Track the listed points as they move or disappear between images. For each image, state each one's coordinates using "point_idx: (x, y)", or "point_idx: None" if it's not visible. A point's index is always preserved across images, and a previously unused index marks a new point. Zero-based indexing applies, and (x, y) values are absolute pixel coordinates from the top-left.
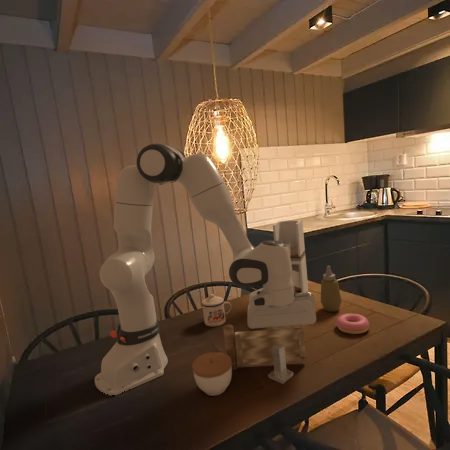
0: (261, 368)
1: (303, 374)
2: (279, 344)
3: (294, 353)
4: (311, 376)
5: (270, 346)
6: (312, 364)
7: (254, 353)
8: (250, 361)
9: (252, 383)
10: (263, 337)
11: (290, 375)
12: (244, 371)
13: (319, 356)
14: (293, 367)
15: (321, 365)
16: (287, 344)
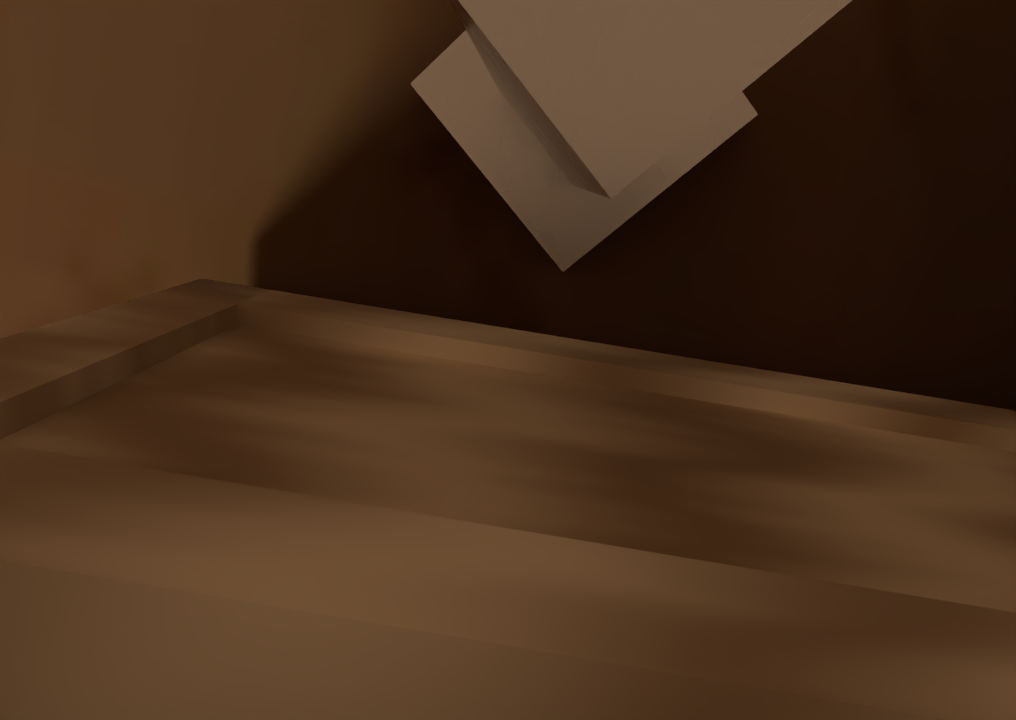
0: (767, 337)
1: (297, 79)
2: (560, 105)
3: (292, 349)
4: (209, 10)
5: (671, 470)
6: (153, 261)
7: (927, 466)
8: (939, 411)
9: (986, 40)
10: (926, 606)
11: (463, 39)
12: (993, 330)
13: None
14: (384, 258)
15: (54, 214)
16: (334, 419)
